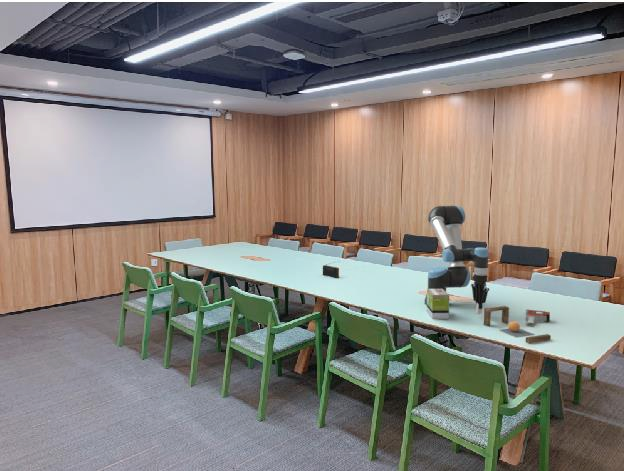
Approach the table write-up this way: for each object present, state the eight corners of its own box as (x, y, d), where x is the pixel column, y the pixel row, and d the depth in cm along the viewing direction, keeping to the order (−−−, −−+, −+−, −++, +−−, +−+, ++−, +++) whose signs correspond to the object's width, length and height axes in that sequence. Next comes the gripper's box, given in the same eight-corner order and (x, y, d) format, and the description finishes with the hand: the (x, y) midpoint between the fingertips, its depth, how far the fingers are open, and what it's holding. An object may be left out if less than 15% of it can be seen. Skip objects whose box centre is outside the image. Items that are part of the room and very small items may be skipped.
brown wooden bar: (525, 342, 220) (525, 337, 220) (547, 338, 225) (547, 334, 224) (528, 343, 218) (528, 338, 218) (550, 340, 223) (550, 335, 223)
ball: (513, 333, 232) (505, 330, 237) (521, 332, 234) (514, 329, 239) (513, 323, 232) (506, 320, 237) (522, 322, 233) (514, 319, 239)
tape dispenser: (528, 330, 243) (560, 325, 247) (528, 321, 242) (560, 316, 246) (508, 319, 260) (538, 315, 264) (508, 310, 259) (538, 306, 263)
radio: (322, 275, 380) (322, 258, 378) (324, 274, 382) (325, 257, 380) (338, 278, 366) (338, 260, 364) (340, 278, 368) (340, 260, 366)
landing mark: (499, 330, 238) (499, 329, 238) (516, 327, 242) (516, 327, 242) (516, 337, 227) (516, 337, 227) (534, 334, 231) (534, 334, 231)
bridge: (483, 324, 248) (484, 308, 246) (504, 321, 252) (505, 305, 251) (487, 326, 245) (488, 309, 244) (508, 323, 250) (509, 307, 248)
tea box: (425, 311, 273) (426, 288, 271) (442, 311, 272) (443, 288, 270) (431, 319, 258) (432, 294, 256) (449, 319, 257) (450, 294, 256)
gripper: (467, 272, 263) (466, 311, 266) (483, 277, 251) (481, 317, 254) (478, 271, 266) (476, 310, 269) (493, 276, 254) (491, 316, 257)
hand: (478, 313), depth 261 cm, fingers closed
